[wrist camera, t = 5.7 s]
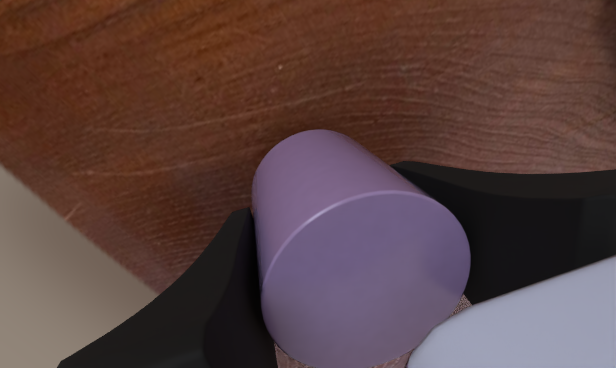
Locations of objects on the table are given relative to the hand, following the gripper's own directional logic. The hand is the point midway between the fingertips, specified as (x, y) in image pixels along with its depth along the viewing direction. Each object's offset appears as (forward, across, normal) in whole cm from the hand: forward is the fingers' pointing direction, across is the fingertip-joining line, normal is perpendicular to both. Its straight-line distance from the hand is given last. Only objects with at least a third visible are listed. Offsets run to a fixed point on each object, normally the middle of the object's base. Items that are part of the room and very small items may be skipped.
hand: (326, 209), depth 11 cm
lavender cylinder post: (+2, 0, 0) cm, 2 cm away
